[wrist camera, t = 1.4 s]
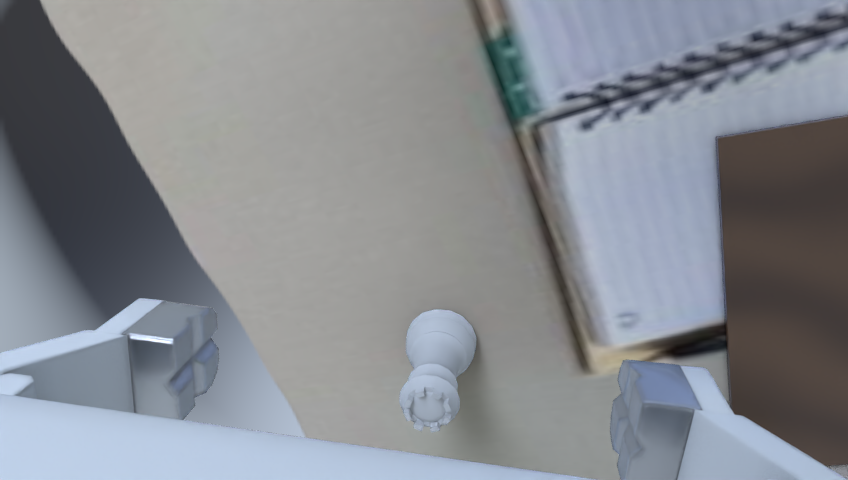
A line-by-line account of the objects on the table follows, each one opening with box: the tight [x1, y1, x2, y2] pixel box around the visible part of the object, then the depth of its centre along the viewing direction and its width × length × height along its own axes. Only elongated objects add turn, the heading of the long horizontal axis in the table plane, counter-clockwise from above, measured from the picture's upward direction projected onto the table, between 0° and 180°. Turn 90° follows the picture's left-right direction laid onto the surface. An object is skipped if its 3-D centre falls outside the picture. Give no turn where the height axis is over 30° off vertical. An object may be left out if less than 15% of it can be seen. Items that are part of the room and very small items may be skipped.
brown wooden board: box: [716, 115, 848, 466], centre depth 36 cm, size 22×12×1 cm, turn 11°
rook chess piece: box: [400, 309, 477, 432], centre depth 36 cm, size 4×4×8 cm
